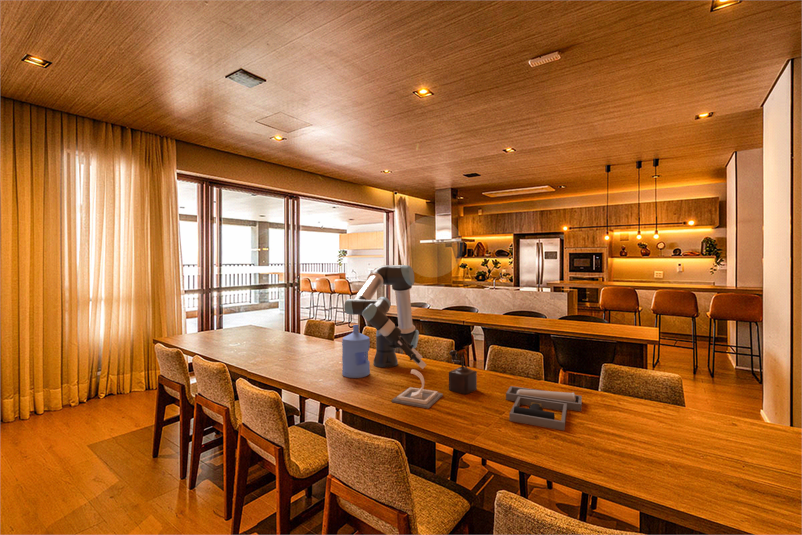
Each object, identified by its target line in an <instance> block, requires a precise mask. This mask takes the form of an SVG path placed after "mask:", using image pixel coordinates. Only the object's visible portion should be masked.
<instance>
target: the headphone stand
mask: <svg viewBox="0 0 802 535" xmlns="http://www.w3.org/2000/svg"><path fill="white" fill-rule="evenodd" d="M410 374H411V375H412V374H413V375H414V376H416V377H418V378H419V380H420V382H421V387H420V388H419V389H420V390H419V391H417V392H414V393H412V394H411V398H422V391H423V389H424V388H425V378H424V376H423V374H422V373H421V372H420V371H419V370H417V369H413V368H411V370H410Z"/></svg>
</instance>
